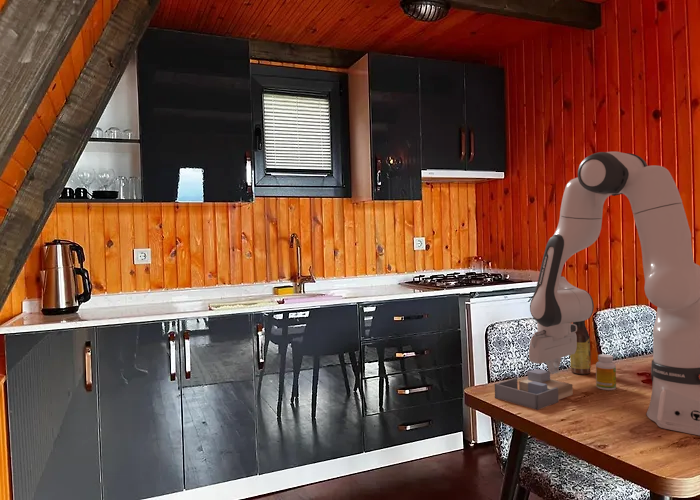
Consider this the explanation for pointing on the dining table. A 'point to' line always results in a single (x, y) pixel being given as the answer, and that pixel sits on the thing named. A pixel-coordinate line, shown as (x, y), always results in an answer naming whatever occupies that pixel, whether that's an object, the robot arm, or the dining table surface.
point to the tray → (524, 395)
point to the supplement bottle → (605, 372)
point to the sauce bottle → (581, 351)
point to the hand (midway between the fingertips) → (553, 372)
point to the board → (551, 387)
